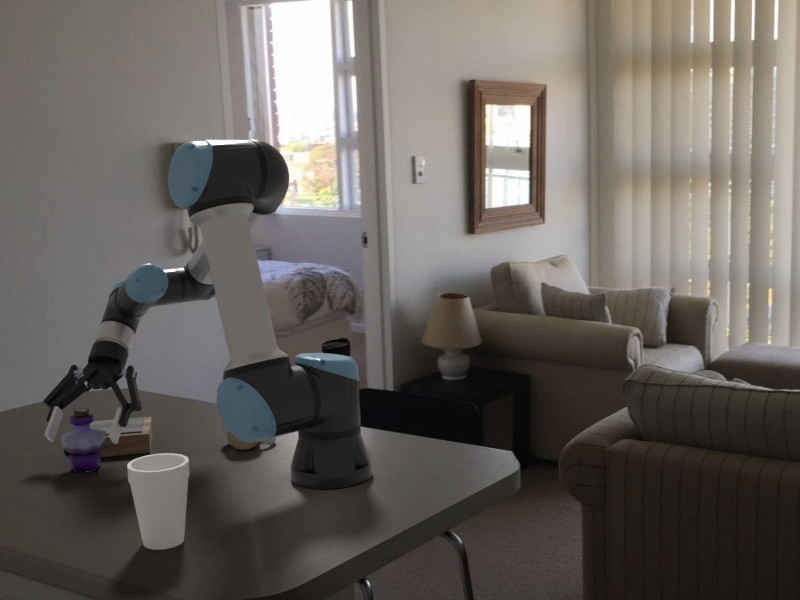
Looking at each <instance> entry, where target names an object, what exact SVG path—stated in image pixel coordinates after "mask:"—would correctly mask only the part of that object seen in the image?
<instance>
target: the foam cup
mask: <svg viewBox="0 0 800 600" xmlns="http://www.w3.org/2000/svg"><path fill="white" fill-rule="evenodd" d="M190 474H191V473H190V462H189V456H186V455H184V454H181V453H173V452H170V453H169V452H166V453H154V454H149V455H143V456H140V457H137V458H134V459H132V460H131V461H129V462H128V463H127V481H128V483H129V485H130V489H131V494H132V499H133V503H134V508H135V512H136V517H137V523H138V526H139V531H140V536H141V541H142V543H143V544H142V545H143V547H145V549H149V550H154V551H155V550H156V551H158V550H166V549H168V550H169V549H172V548H176V547H177V546H180V545H181V544H183V543H184V542H185V532H186V531H185V530H186V517H187V516H186V515H187V504H188V503H187V500H188V488H189V486H188V485H189V477H190Z"/></svg>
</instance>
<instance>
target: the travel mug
mask: <svg viewBox="0 0 800 600" xmlns="http://www.w3.org/2000/svg"><path fill="white" fill-rule="evenodd" d="M351 351H352V350H351V341H350V340H349V337H339V338H337V339H335V338H334V339H329V340H326V341H325V342H323V343H322V344H321V353H328V354H338V355H344V356H348V357H351V358H352V354H351Z"/></svg>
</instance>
